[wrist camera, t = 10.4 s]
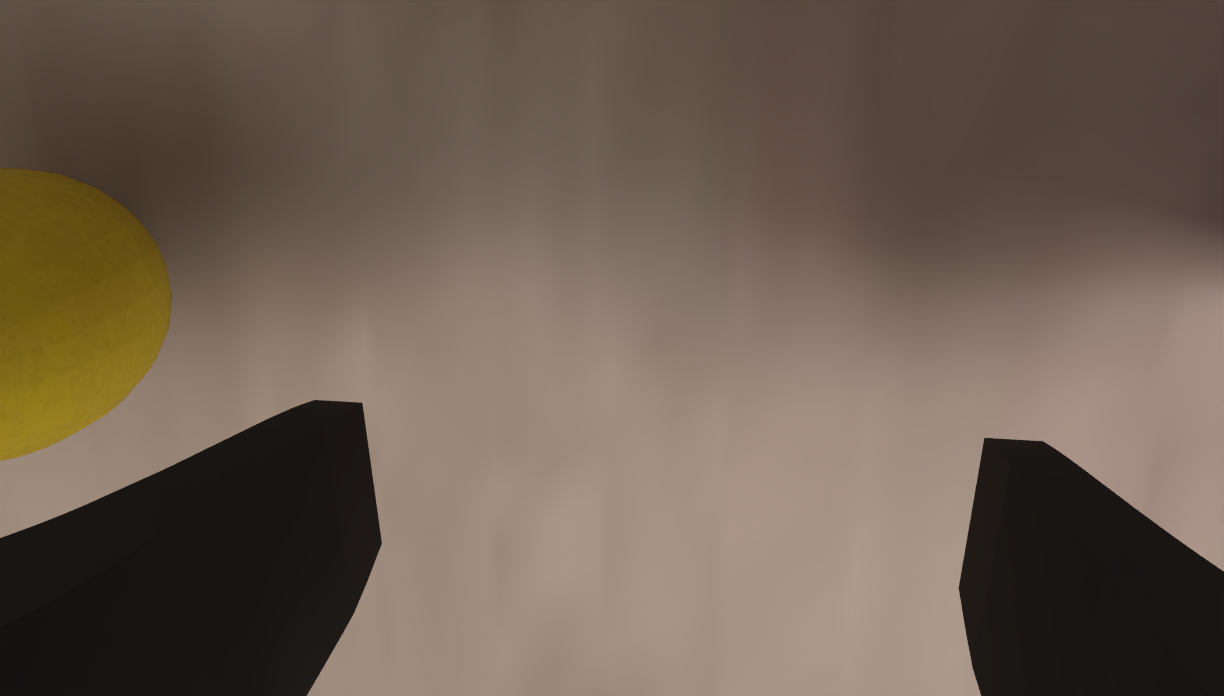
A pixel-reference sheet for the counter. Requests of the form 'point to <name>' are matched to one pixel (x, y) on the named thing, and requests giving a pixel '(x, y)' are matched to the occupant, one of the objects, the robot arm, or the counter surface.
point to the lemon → (71, 307)
